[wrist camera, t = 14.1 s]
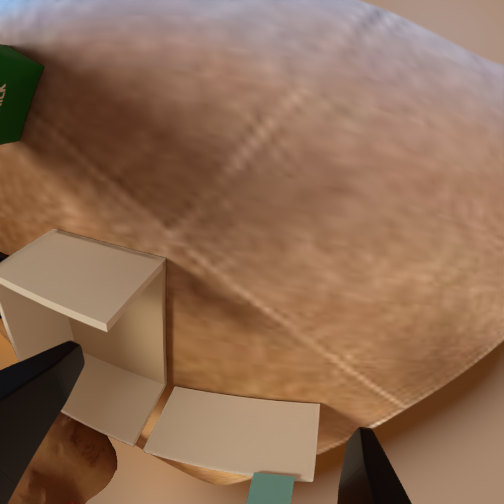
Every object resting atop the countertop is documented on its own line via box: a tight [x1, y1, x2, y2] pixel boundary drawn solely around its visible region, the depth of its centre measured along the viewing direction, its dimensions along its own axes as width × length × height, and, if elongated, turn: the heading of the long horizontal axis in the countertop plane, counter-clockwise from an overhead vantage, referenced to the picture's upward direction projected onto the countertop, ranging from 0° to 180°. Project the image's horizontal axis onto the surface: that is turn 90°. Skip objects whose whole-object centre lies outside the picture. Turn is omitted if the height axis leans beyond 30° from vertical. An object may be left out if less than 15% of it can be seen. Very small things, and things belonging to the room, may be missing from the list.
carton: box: [0, 228, 167, 447], centre depth 23 cm, size 11×14×8 cm
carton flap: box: [143, 386, 320, 504], centre depth 22 cm, size 1×14×11 cm, turn 93°
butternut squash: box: [8, 412, 117, 504], centre depth 26 cm, size 14×13×25 cm
